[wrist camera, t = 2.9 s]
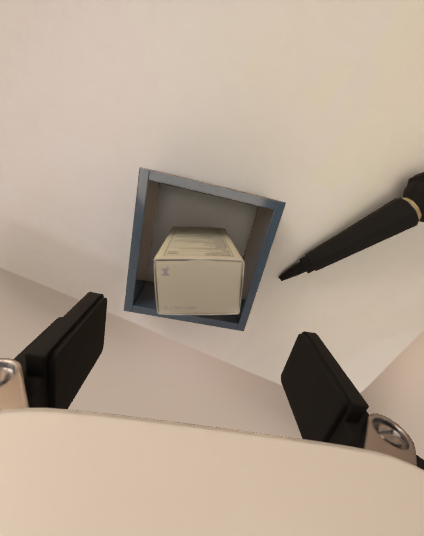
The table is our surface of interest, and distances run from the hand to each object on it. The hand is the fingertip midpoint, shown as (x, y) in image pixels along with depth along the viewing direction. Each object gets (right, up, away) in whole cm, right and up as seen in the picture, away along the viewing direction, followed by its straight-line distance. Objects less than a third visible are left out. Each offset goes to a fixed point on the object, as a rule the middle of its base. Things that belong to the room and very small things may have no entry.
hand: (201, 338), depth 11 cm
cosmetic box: (-1, +6, +16) cm, 18 cm away
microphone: (+17, +8, +16) cm, 25 cm away
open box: (-1, +6, +16) cm, 17 cm away
